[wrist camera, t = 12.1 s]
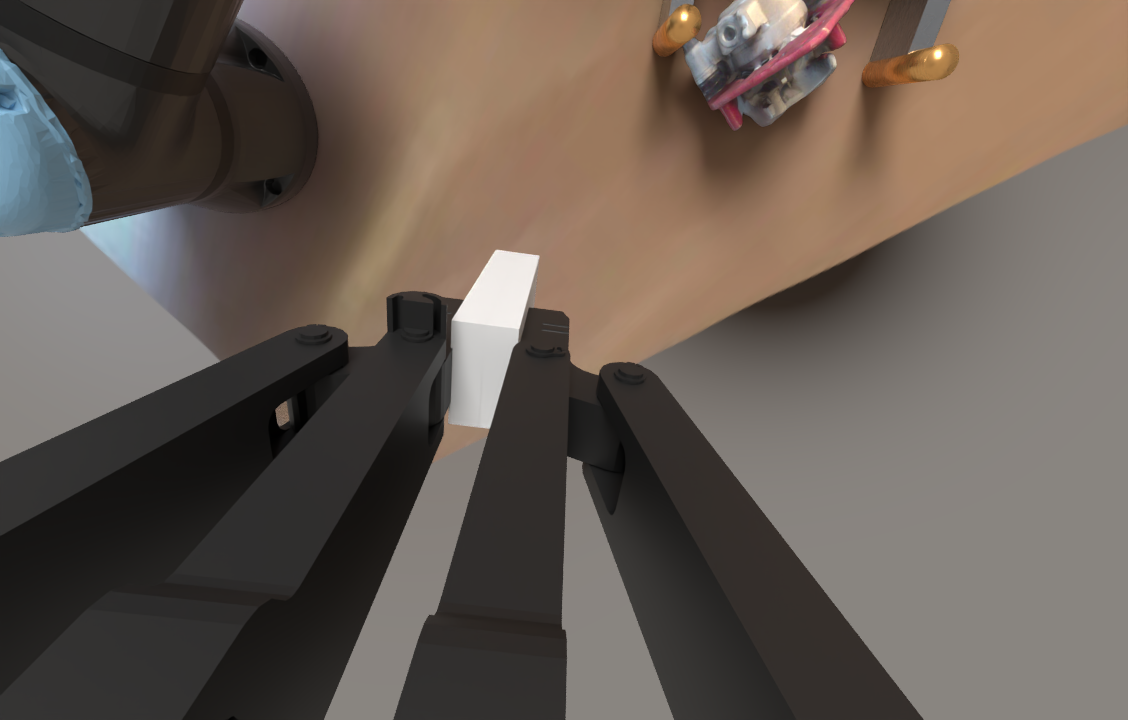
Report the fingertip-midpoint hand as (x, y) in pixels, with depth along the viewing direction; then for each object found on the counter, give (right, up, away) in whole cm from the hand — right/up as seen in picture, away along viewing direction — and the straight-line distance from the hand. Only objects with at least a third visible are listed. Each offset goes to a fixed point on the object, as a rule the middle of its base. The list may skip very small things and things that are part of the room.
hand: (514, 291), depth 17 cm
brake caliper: (+17, +22, +22) cm, 35 cm away
